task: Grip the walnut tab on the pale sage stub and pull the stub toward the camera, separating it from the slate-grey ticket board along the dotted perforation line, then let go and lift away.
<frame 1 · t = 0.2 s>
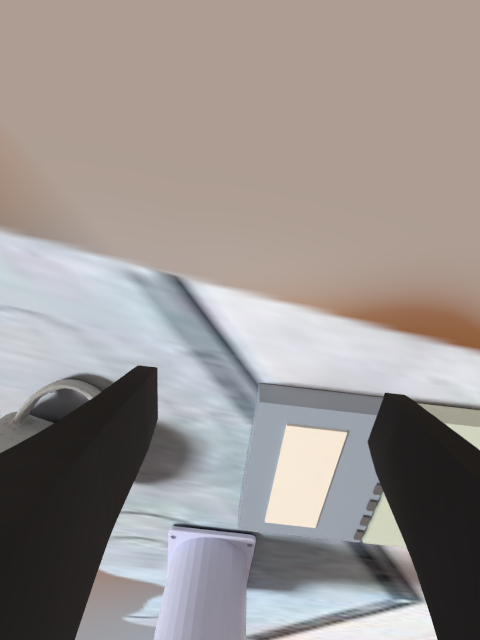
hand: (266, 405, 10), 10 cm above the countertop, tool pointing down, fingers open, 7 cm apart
ceramic mug: (72, 426, 24), on the countertop
stub: (436, 508, 21), point 3 cm above the countertop, slide at 0.0 cm
ticket board: (311, 458, 24), on the countertop
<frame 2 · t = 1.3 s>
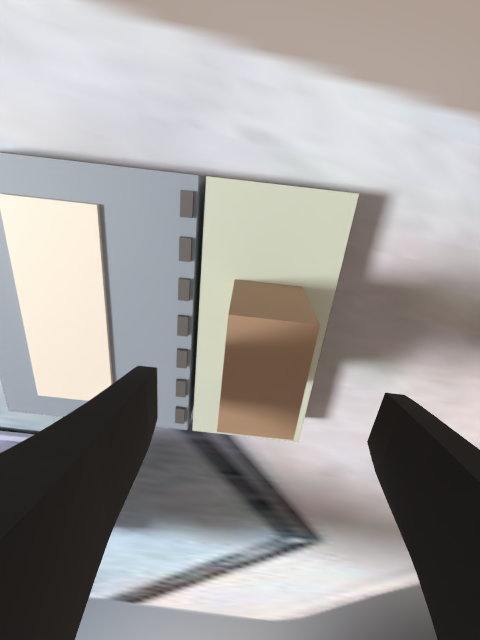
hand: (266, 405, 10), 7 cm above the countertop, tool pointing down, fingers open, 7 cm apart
stub: (261, 344, 14), point 3 cm above the countertop, slide at 0.0 cm
ticket board: (105, 299, 16), on the countertop
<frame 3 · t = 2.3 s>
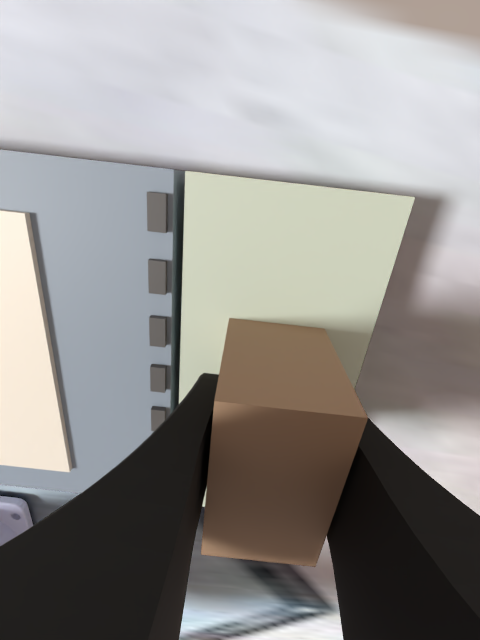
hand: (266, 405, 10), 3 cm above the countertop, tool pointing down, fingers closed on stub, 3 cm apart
stub: (267, 410, 10), point 3 cm above the countertop, slide at 0.0 cm, touching gripper
ticket board: (59, 335, 12), on the countertop
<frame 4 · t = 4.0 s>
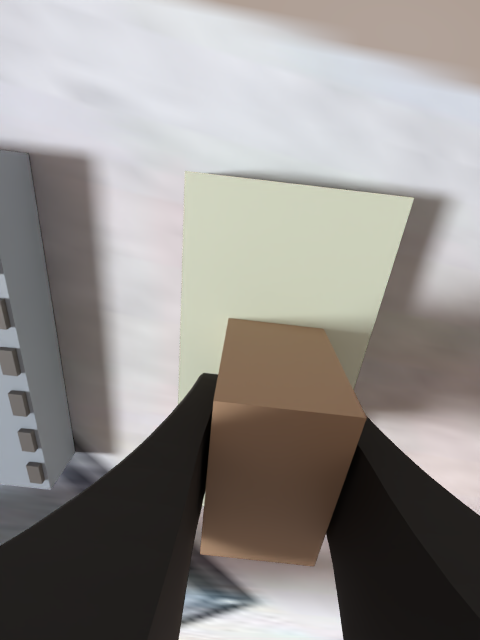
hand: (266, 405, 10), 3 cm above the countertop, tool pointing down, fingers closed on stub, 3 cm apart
stub: (266, 409, 10), point 3 cm above the countertop, slide at 5.1 cm, touching gripper
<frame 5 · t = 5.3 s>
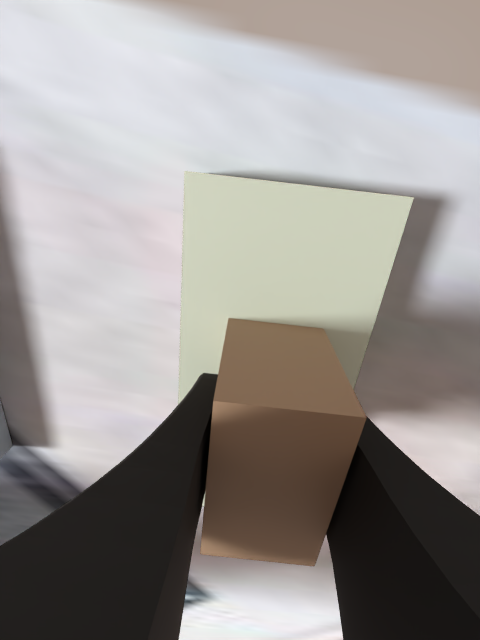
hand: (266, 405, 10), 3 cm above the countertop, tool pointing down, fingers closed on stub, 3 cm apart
stub: (266, 409, 10), point 3 cm above the countertop, slide at 8.2 cm, touching gripper
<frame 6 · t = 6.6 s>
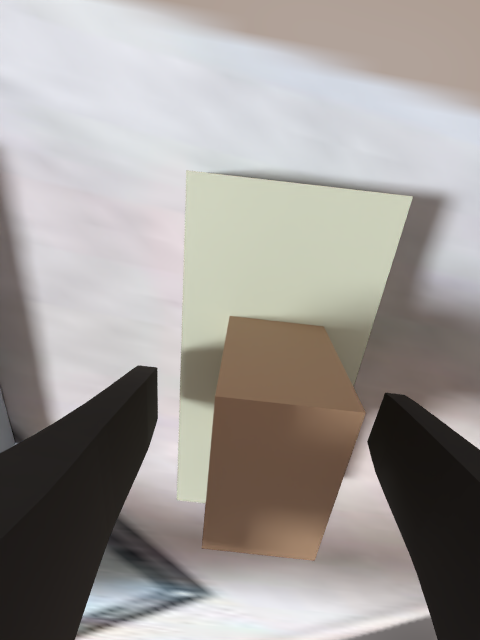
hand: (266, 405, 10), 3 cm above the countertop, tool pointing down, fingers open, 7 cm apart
stub: (267, 406, 10), point 3 cm above the countertop, slide at 8.2 cm
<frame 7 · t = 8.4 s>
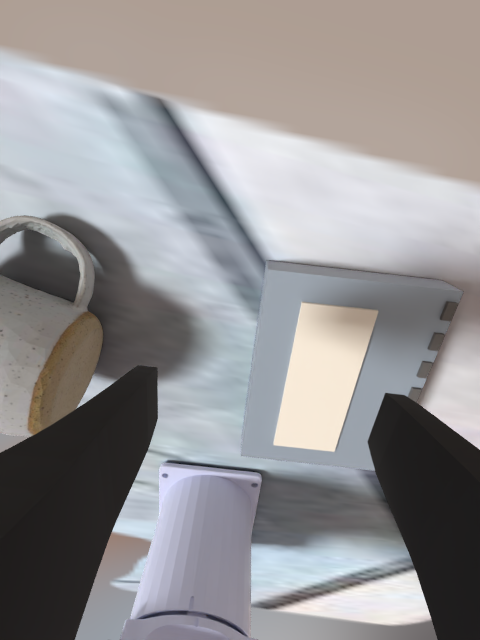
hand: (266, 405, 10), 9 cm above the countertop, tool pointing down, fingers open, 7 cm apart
ceramic mug: (46, 302, 19), on the countertop
ticket board: (328, 367, 20), on the countertop
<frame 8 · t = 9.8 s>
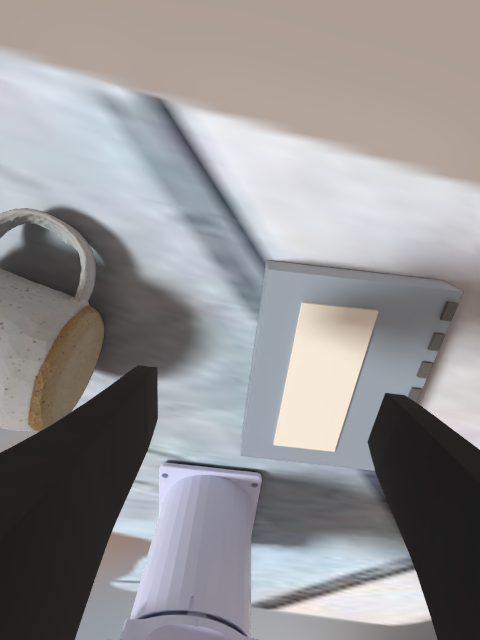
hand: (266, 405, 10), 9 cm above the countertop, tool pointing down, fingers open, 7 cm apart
ceramic mug: (46, 297, 19), on the countertop
ticket board: (328, 367, 20), on the countertop
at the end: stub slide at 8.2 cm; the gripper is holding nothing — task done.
